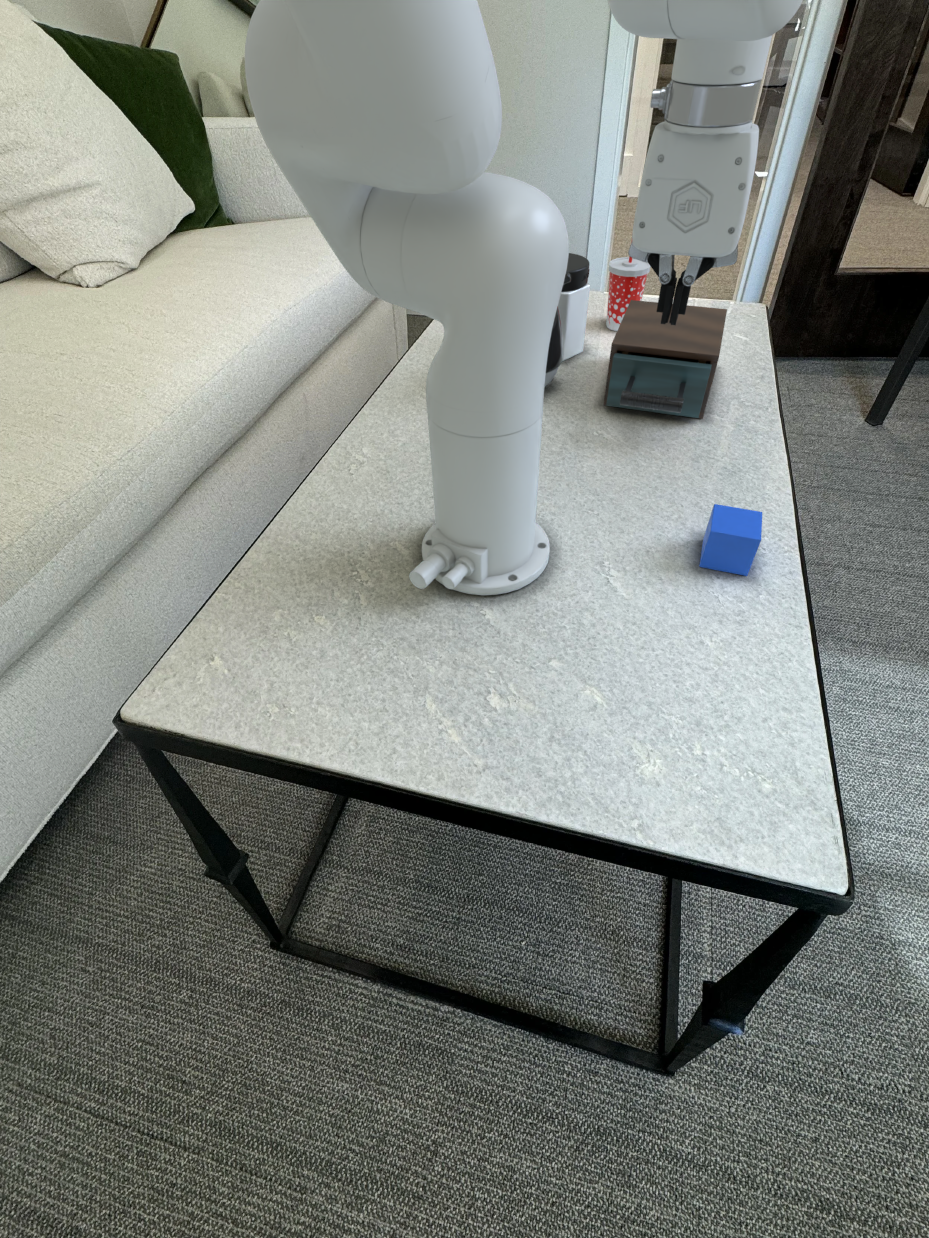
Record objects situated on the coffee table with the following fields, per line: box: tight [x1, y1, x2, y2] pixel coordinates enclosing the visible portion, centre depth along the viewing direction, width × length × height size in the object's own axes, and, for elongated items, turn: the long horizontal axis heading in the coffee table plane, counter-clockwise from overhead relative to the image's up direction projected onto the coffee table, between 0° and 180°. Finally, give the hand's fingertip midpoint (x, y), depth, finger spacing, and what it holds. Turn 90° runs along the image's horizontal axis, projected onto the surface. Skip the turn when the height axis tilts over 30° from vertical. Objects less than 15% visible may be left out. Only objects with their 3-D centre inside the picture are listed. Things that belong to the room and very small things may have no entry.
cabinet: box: [603, 300, 728, 420], centre depth 84 cm, size 15×13×8 cm
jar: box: [558, 252, 591, 362], centre depth 92 cm, size 9×8×12 cm
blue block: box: [698, 503, 763, 577], centre depth 61 cm, size 4×4×4 cm
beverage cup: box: [605, 240, 652, 332], centre depth 96 cm, size 6×6×14 cm
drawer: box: [605, 351, 712, 419], centre depth 81 cm, size 20×11×6 cm, turn 161°
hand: (669, 319), depth 70 cm, fingers closed
